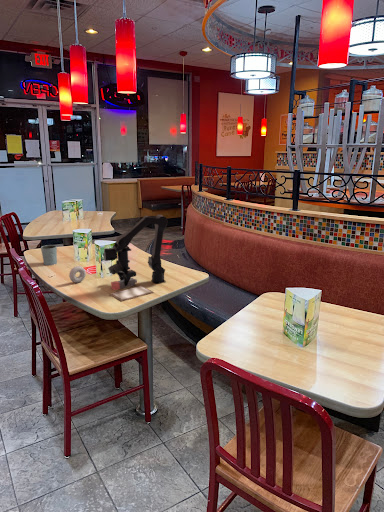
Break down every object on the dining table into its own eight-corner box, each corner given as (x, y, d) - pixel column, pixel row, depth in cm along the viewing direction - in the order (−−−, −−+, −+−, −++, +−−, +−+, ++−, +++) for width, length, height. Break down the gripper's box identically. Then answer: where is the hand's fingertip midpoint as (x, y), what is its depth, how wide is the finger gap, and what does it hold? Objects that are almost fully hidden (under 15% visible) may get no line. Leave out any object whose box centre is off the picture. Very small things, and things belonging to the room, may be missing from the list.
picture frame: (141, 286, 218) (141, 285, 218) (153, 292, 209) (153, 291, 209) (109, 294, 207) (109, 293, 206) (121, 301, 197) (121, 300, 197)
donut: (71, 285, 220) (70, 268, 217) (68, 283, 222) (67, 267, 220) (87, 281, 227) (86, 265, 224) (84, 279, 229) (83, 264, 226)
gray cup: (52, 260, 267) (50, 244, 264) (61, 263, 262) (59, 246, 258) (39, 264, 260) (37, 247, 256) (48, 266, 254) (46, 249, 251)
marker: (134, 282, 224) (134, 276, 223) (137, 284, 221) (137, 278, 220) (111, 288, 215) (111, 282, 214) (114, 290, 212) (114, 284, 211)
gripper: (102, 257, 216) (104, 283, 220) (117, 265, 201) (119, 292, 206) (119, 254, 222) (121, 279, 226) (136, 261, 208) (137, 288, 212)
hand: (124, 284), depth 218 cm, fingers closed on marker, 4 cm apart
